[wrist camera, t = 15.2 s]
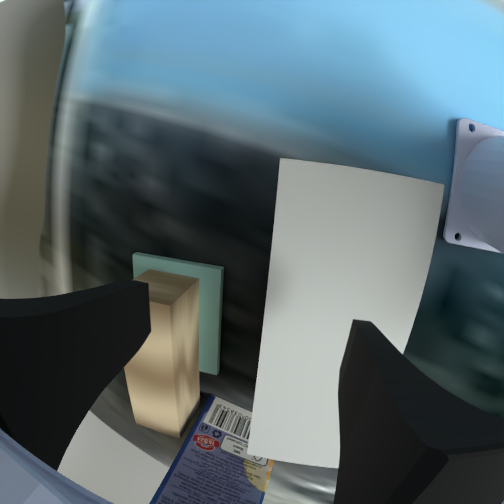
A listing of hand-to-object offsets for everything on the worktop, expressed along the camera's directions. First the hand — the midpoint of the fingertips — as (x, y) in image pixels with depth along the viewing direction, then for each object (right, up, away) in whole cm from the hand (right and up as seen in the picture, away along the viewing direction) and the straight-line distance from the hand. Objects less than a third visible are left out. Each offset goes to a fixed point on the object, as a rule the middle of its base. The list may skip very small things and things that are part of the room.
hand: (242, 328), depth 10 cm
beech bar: (-6, -5, +13) cm, 15 cm away
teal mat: (-5, -2, +13) cm, 14 cm away
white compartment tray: (+6, -1, +10) cm, 12 cm away
